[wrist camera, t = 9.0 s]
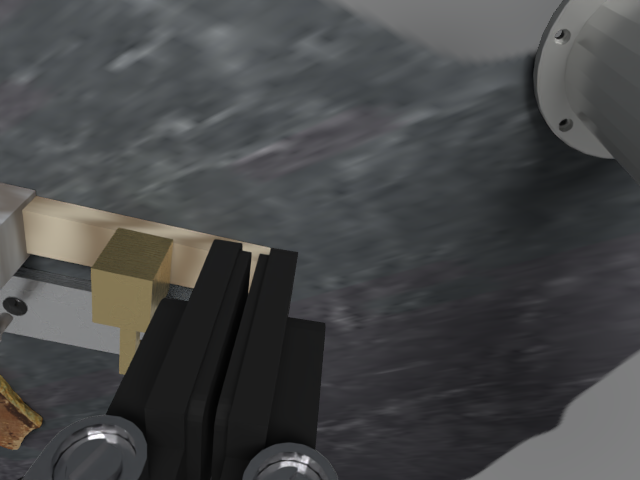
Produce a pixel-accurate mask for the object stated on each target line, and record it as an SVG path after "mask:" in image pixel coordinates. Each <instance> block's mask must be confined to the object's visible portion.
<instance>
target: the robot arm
mask: <svg viewBox="0 0 640 480" xmlns="http://www.w3.org/2000/svg"><path fill="white" fill-rule="evenodd" d="M559 30H562V33H561V35H560V36H559V37H557V38H556V37H555V35H556V33H557V32H558V31H559ZM533 81H534V95H535V98H536V101H537V105H538V108H539V111H540V113H541V114H542V116H543V118H544V120H545V121H546V123H547V125H548V126H549V127H550V129H551V130H552V131H553V132H554V134H555V135H556V136H557V137H558V138H560V139H561V140H562V141H563V142H565V143H566V144H567V145H568V146H570V147H572V148H574V149H576V150H578V151H580V152H582V153H584V154H587V155H591V156H595V157H599V158H606V159H615V160H616V161H617V162H618V163H619V164H620V165H621V166H622V167H623V168H624V169H625V170H626V172H627V173H628V174H629V175H630V176H631V177H632V178H633V179H634V180H635V181H636V182H637V184H638V185H639V186H640V0H563V1H562V3H561V4H560V5H559V7H558V8H557V9H556V11H555V13H554V14H553V15H552V17H551V19H550V21H549V23H548V25H547V27H546V29H545V31H544V33H543V35H542V38H541V41H540V44H539V47H538V50H537V53H536V57H535V65H534V73H533ZM564 119H565V120H564ZM562 120H564V122H562V123H560V122H561V121H562ZM297 257H298V252H293V251H287V250H281V249H275V248H271V251H270V255H267V254H261V253H260V254H259V257H258V261H257V264H256V268H255V272H254V275H253V279H252V283H251V286H250V290H249V280H250V269H251V258H252V252H248V251H243V245H242V243H238V242H232V241H226V240H219V239H214V241H213V243H212V245H211V247H210V250H209V252H208V255H207V257H206V260H205V262H204V264H203V267H202V269H201V272H200V274H199V277H198V279H197V281H196V284H195V286H194V289H193V291H192V294H191V296H190V298H189V301H183V300H176V299H170V298H163V299H162V300H161V301H160V303H159V305H158V306H157V309H156V311H155V313H154V315H153V317H152V319H151V321H150V323H149V325H148V327H147V329H146V332H145V334H144V336H143V338H142V340H141V342H140V344H139V346H138V348H137V350H136V352H135V355H134V357H133V359H132V361H131V363H130V365H129V367H128V369H127V371H126V373H125V375H124V378H123V380H122V382H121V384H120V386H119V388H118V390H117V392H116V394H115V396H114V398H113V401H112V403H111V405H110V407H109V409H108V411H107V413H106V415H100V416H91V417H88V418H85V419H82V420H79V421H77V422H74V423H73V424H71V425H69V426H68V427H66V428H65V429H63V430H62V431H60V432H59V433H58V434H57V435H56V436H55V437H54V438H53V439H52V440H51V441H50V442H49V443H48V445H47V446H46V447H45V449H44V450H43V451H42V453H41V454H40V455H39V457H38V458H37V459H36V461H35V462H34V463H33V465H32V466H31V467H30V469H29V470H28V472H27V473H26V474H25V476H24V477H22V478H20V479H18V480H338V477H337V474H336V472H335V470H334V469H333V467H332V466H331V464H330V462H329V461H328V460H327V459H326V458H325V457H324V456H323V455H321V454H320V453H319V452H318V451H316V450H315V445H316V433H317V421H318V410H319V398H320V386H321V374H322V362H323V351H324V339H325V323H322V322H315V321H309V320H303V319H296V318H290V317H288V314H289V308H290V301H291V295H292V289H293V282H294V276H295V270H296V263H297ZM248 290H249V293H248Z"/></svg>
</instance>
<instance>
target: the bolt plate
mask: <svg viewBox="0 0 640 480" xmlns="http://www.w3.org/2000/svg"><path fill="white" fill-rule="evenodd" d="M166 298H168V297H166ZM170 299H173V298H170ZM176 300H177V299H176ZM4 312H5V313H9V314H10V315H12V317H13V320H12V322H11V323H10V324H9V326H8V327H7V328H6V329H5V331H4V332H9V333H14V334H19V335H24V336H29V337H34V338H39V339H44V340H49V341H54V342H59V343H64V344H69V345H74V346H79V347H84V348H89V349H95V350H100V351H105V352H110V353H115V354H120V328H118V327H113V326H108V325H103V324H98V323H94V322H92V289H91V281H87V280H82V279H77V278H72V277H67V276H63V275H58V274H53V273H48V272H44V271H39V270H34V269H29V268H24V267H20V268H19V269H18V270H17V271H16V272H15V274H14V275H13V276H12V277H11V278H10V280H9V281H8V282H7V283H6V284H5V285H4V287H3V288H2V289H1V290H0V315H1V314H2V313H4ZM144 334H145V333H143V332H140V340H142V338H143V336H144Z"/></svg>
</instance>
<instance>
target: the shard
mask: <svg viewBox="0 0 640 480" xmlns="http://www.w3.org/2000/svg"><path fill="white" fill-rule="evenodd" d="M42 420H43V418H42V417H41V416H40V415H39V414H37V413H36V412H35V411H33V410H32V409H31V408H30V407H28V406H27V405H26V404H25V403H24V402H23V401H22V399H21V398H20V397H19V396H18V395H17V394H16V393H15V392H14V391H13V390H12V388H11V387H10V385H9V384H8V383H7V382H6V381H5V379H4V378H3V377H2V376H1V375H0V446H2V447H5V448H8V449H12V450H14V449H16V450H17V449H19V447H20V445H21V443H22V441H23V439H24V438H25V436H26V435H27V434H28V433H29V432H31V431H32V430H33V429H36V428H40V426H41V424H42Z"/></svg>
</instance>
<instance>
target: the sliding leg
mask: <svg viewBox="0 0 640 480" xmlns="http://www.w3.org/2000/svg"><path fill="white" fill-rule="evenodd" d="M172 250H173V239H169V238H165V237H160V236H156V235H151V234H147V233H142V232H137V231H133V230H128V229H124V228H119V227H118V229H117V230H116V232H115V233H114V235H113V236H112V238H111V239H110V241H109V242H108V244H107V245H106V247H105V248H104V250H103V251H102V252H101V254H100V255H99V257H98V258H97V260H96V261H95V263H94V264H93V266H92V267H91V289H92V322H94V323H98V324H103V325H108V326H113V327H118V328H120V358H119V374H124V375H125V373H126V371H127V369H128V367H129V365H130V363H131V361H132V359H133V357H134V355H135V352H136V350H137V348H138V346H139V344H140V342H141V340H140V332H143V333H145V332H146V329H147V327H148V325H149V323H150V321H151V319H152V317H153V315H154V313H155V311H156V309H157V306H158V305H159V303H160V301H161V300H162V299H163V298H166V295H167V293H168V291H169V284H170V273H171V262H172Z"/></svg>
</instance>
